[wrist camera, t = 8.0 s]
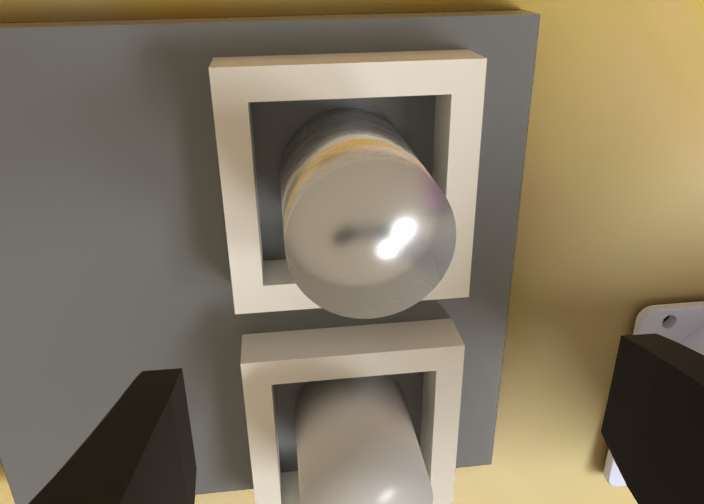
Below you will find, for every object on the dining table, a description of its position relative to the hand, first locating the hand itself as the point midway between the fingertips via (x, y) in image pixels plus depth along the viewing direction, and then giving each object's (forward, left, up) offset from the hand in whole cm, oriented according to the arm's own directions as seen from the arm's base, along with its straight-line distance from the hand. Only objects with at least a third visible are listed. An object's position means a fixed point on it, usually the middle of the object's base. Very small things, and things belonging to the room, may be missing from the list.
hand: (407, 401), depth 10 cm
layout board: (+3, +2, -9) cm, 10 cm away
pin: (0, -1, -8) cm, 8 cm away
